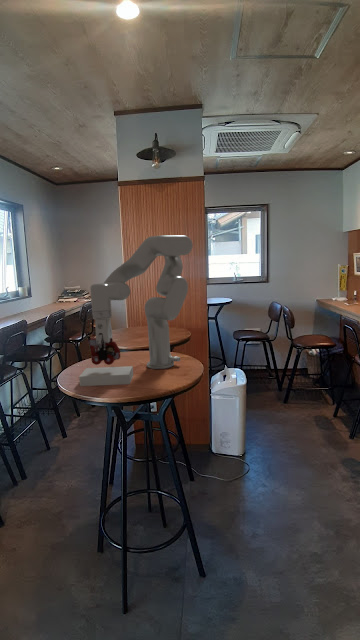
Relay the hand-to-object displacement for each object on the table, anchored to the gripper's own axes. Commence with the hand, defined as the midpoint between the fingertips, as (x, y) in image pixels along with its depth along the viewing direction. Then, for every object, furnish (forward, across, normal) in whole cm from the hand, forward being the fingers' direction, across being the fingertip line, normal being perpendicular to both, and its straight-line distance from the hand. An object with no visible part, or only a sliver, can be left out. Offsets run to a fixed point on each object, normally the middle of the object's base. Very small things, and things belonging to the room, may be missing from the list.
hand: (105, 356), depth 152 cm
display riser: (+10, 0, 0) cm, 10 cm away
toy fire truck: (+3, 0, 0) cm, 3 cm away
